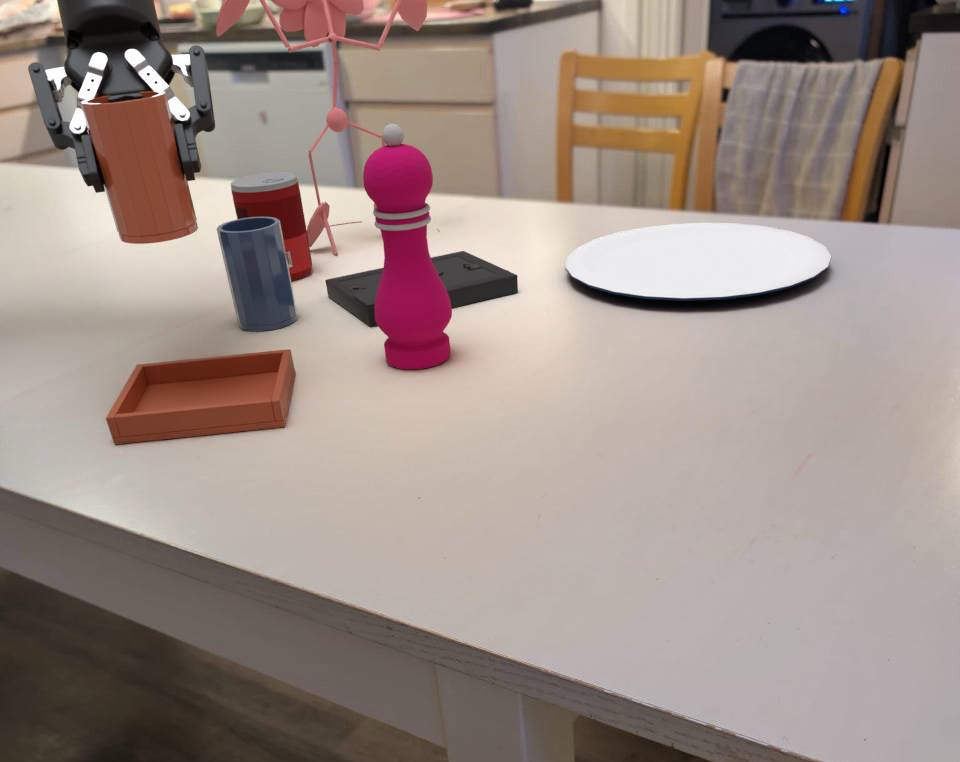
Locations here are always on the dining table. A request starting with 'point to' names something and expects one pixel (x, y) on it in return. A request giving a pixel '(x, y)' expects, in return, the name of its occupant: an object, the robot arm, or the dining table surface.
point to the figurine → (318, 10)
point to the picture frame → (457, 271)
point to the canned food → (277, 212)
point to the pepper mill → (406, 256)
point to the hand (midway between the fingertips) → (144, 179)
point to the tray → (203, 397)
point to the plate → (698, 261)
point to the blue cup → (258, 273)
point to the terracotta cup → (141, 167)
